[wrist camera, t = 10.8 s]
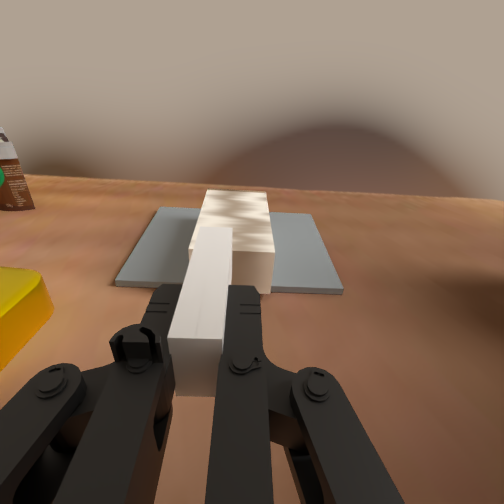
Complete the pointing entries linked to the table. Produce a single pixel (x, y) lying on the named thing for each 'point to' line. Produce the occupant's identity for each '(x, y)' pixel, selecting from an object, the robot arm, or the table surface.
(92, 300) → the table surface
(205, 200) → the tall block
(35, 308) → the element tile
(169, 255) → the mat
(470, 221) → the table surface
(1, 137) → the food container
